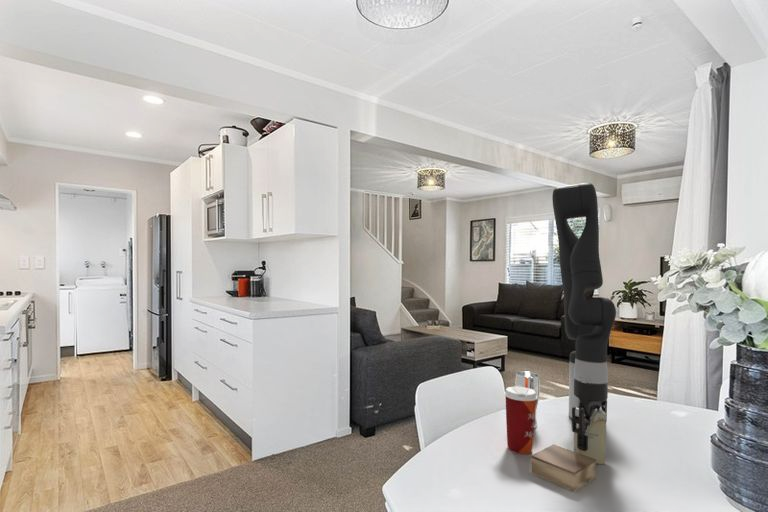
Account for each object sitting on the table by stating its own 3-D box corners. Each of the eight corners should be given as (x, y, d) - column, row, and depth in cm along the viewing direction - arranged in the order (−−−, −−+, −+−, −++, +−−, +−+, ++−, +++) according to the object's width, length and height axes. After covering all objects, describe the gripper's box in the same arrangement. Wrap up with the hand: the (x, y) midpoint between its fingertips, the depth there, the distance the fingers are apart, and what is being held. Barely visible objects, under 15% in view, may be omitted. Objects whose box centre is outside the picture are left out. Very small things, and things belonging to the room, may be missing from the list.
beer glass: (510, 424, 126) (511, 373, 126) (520, 418, 131) (521, 369, 131) (532, 431, 121) (533, 378, 122) (542, 424, 126) (543, 374, 127)
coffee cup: (538, 457, 104) (540, 396, 105) (504, 453, 106) (505, 393, 106) (534, 443, 113) (535, 387, 113) (501, 440, 114) (503, 384, 115)
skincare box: (578, 462, 103) (579, 411, 103) (573, 454, 107) (574, 405, 107) (606, 464, 101) (607, 413, 102) (600, 456, 106) (600, 407, 106)
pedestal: (553, 460, 103) (553, 444, 103) (595, 477, 95) (595, 459, 95) (530, 473, 97) (531, 455, 97) (574, 491, 89) (574, 472, 89)
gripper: (588, 370, 112) (587, 434, 112) (561, 379, 103) (560, 448, 102) (618, 377, 106) (617, 443, 106) (593, 386, 97) (591, 459, 97)
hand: (589, 445), depth 104 cm, fingers closed on skincare box, 7 cm apart
